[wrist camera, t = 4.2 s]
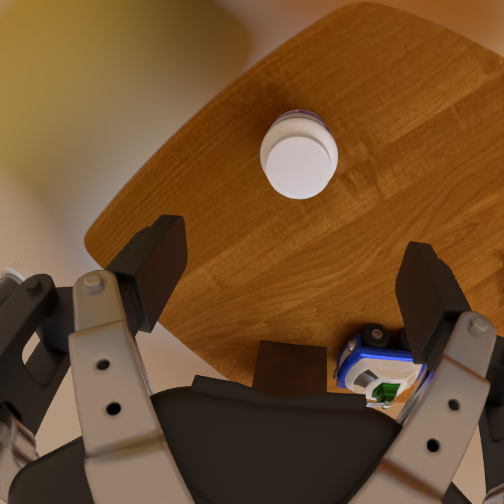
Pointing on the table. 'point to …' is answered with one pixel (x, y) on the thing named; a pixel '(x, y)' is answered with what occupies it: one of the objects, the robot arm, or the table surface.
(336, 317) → the table surface
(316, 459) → the robot arm
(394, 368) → the toy car
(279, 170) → the pill bottle
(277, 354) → the tall grey box
